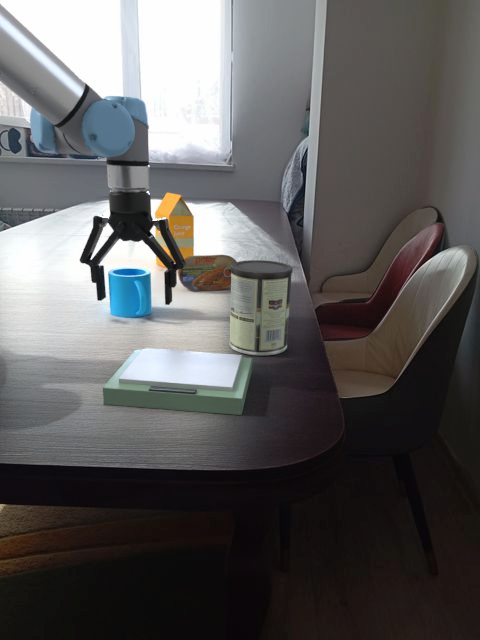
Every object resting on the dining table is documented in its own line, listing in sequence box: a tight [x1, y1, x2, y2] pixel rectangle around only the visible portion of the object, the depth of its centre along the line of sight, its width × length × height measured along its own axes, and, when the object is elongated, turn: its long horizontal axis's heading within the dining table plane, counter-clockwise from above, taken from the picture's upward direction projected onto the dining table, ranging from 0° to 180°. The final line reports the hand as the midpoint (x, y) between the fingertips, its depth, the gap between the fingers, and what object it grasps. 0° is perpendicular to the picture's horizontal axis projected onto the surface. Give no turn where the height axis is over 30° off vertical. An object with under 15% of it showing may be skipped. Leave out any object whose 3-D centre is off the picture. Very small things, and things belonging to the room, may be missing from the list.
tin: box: [177, 254, 238, 292], centre depth 124 cm, size 15×3×8 cm, turn 112°
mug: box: [107, 267, 153, 318], centre depth 102 cm, size 12×8×8 cm
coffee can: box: [228, 259, 294, 357], centre depth 87 cm, size 10×10×14 cm
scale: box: [102, 347, 253, 416], centre depth 72 cm, size 18×14×3 cm
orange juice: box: [154, 192, 195, 269], centre depth 145 cm, size 8×9×20 cm
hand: (135, 301), depth 102 cm, fingers open, 13 cm apart
